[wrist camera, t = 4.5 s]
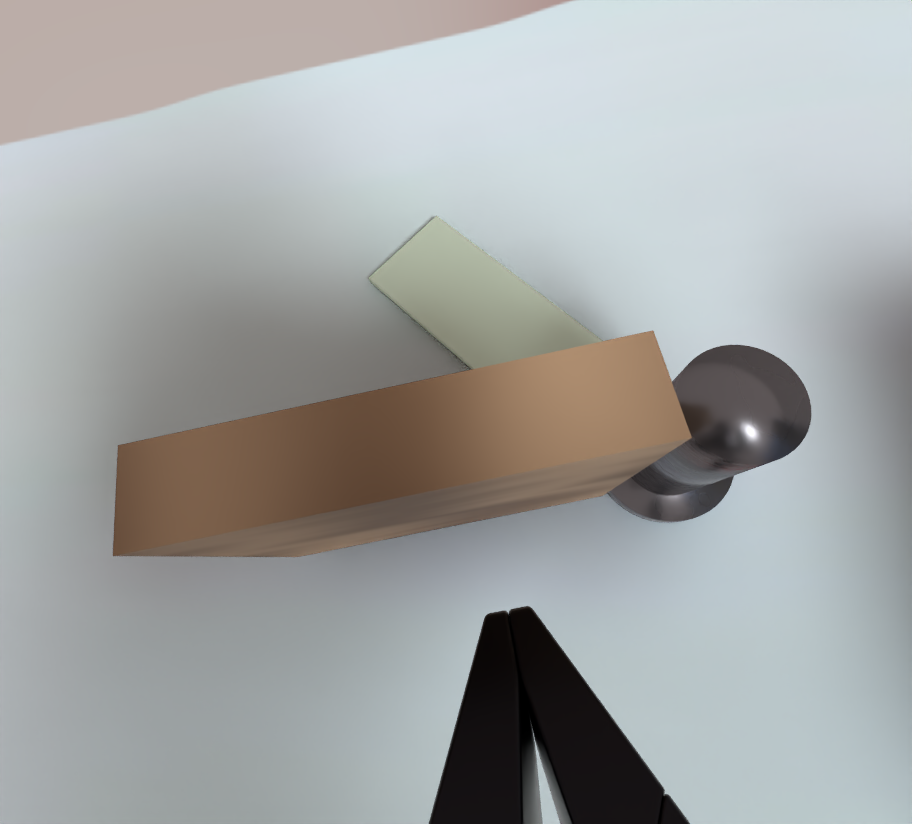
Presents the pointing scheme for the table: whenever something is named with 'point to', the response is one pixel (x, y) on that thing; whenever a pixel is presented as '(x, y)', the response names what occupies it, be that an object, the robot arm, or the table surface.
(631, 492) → the pivot post
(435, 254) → the stripe
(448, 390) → the arm
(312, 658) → the table surface
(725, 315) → the table surface
